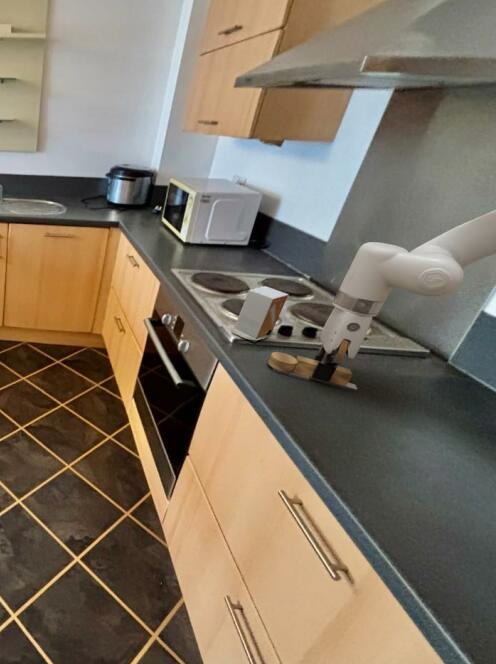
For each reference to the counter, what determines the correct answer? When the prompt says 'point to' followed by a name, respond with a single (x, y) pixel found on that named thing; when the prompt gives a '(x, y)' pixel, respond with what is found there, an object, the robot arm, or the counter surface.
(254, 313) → the small box
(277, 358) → the wooden spoon
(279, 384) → the counter surface
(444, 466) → the counter surface
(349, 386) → the serving fork
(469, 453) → the counter surface
